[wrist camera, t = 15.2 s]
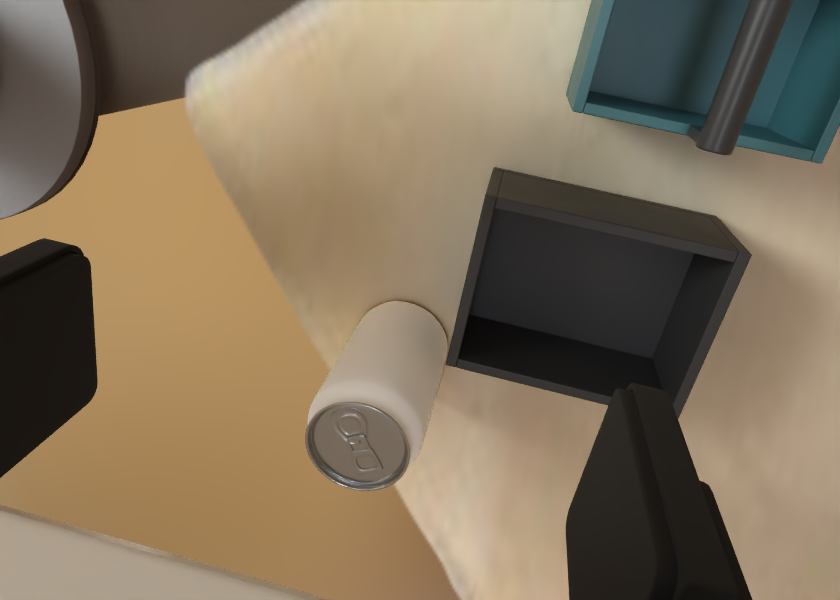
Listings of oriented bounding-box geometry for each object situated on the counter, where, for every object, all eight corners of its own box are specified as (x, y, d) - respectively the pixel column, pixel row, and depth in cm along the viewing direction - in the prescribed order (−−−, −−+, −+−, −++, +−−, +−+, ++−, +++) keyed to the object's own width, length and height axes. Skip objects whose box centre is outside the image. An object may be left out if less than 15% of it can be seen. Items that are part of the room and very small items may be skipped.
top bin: (566, 94, 35) (576, 123, 25) (611, -73, 31) (645, -117, 21) (769, 137, 34) (863, 185, 24) (840, -31, 30) (985, -56, 20)
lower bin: (458, 315, 41) (445, 365, 35) (494, 166, 37) (485, 194, 31) (656, 363, 40) (676, 422, 34) (716, 216, 36) (752, 254, 30)
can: (431, 288, 41) (392, 384, 30) (460, 370, 43) (434, 488, 32) (343, 310, 43) (277, 408, 32) (376, 388, 45) (324, 505, 34)
